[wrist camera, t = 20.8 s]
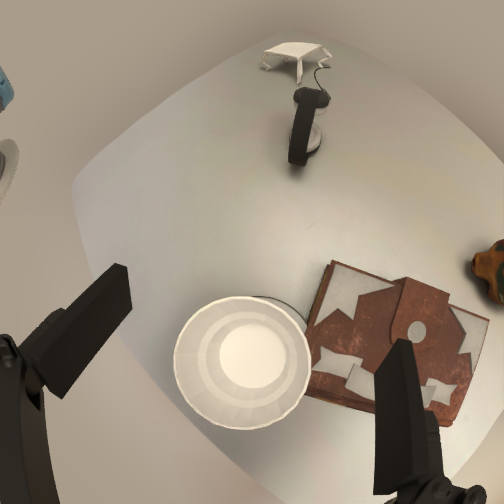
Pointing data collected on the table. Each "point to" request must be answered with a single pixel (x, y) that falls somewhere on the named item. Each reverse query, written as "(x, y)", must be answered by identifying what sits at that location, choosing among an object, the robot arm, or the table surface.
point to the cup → (242, 363)
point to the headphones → (306, 123)
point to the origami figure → (295, 54)
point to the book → (389, 339)
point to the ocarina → (492, 270)
